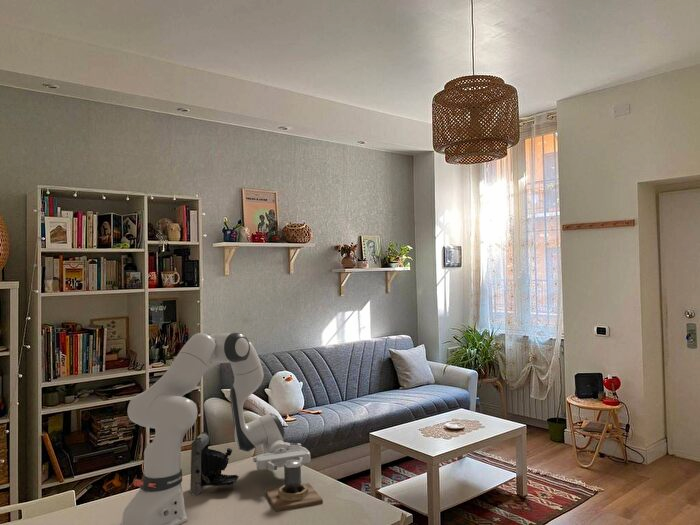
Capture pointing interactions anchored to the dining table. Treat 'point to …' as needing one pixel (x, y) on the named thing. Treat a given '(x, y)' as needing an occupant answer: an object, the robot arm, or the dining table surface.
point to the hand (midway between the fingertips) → (287, 465)
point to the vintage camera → (208, 466)
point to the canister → (292, 476)
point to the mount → (293, 497)
